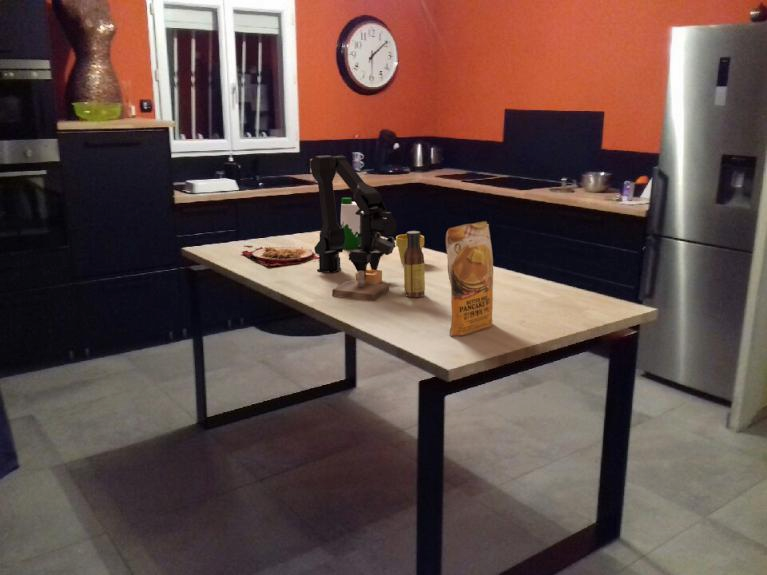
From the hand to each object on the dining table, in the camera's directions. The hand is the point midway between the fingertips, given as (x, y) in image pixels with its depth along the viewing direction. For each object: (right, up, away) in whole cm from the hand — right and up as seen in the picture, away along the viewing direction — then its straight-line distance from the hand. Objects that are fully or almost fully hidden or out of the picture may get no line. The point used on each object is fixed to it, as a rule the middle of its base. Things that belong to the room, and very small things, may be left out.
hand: (368, 276), depth 229 cm
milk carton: (-8, +12, +51) cm, 53 cm away
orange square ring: (0, -2, 0) cm, 2 cm away
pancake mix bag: (+27, -15, -45) cm, 54 cm away
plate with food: (-33, +7, +35) cm, 49 cm away
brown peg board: (-2, -5, -12) cm, 13 cm away
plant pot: (+15, +5, +27) cm, 31 cm away
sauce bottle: (+14, -6, -14) cm, 21 cm away
